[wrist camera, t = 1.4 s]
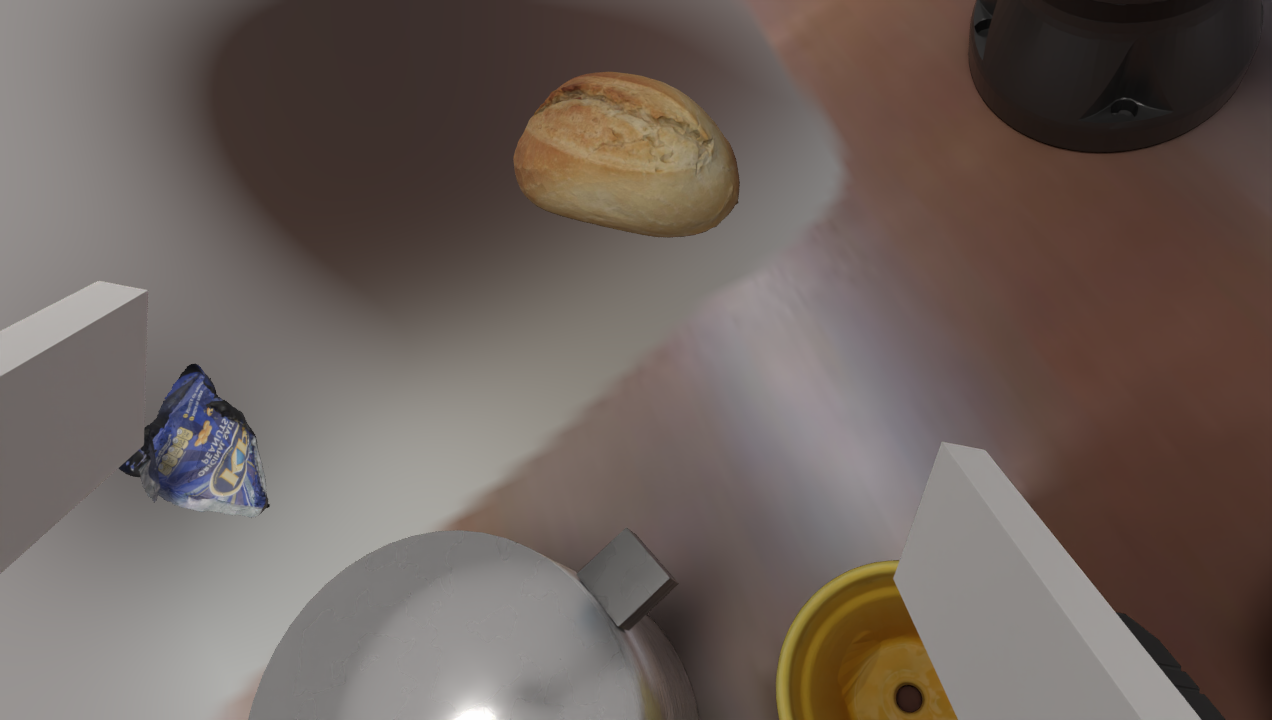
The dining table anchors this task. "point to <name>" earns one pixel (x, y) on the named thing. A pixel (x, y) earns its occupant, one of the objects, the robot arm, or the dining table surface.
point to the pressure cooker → (481, 638)
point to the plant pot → (856, 654)
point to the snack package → (200, 452)
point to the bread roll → (627, 157)
